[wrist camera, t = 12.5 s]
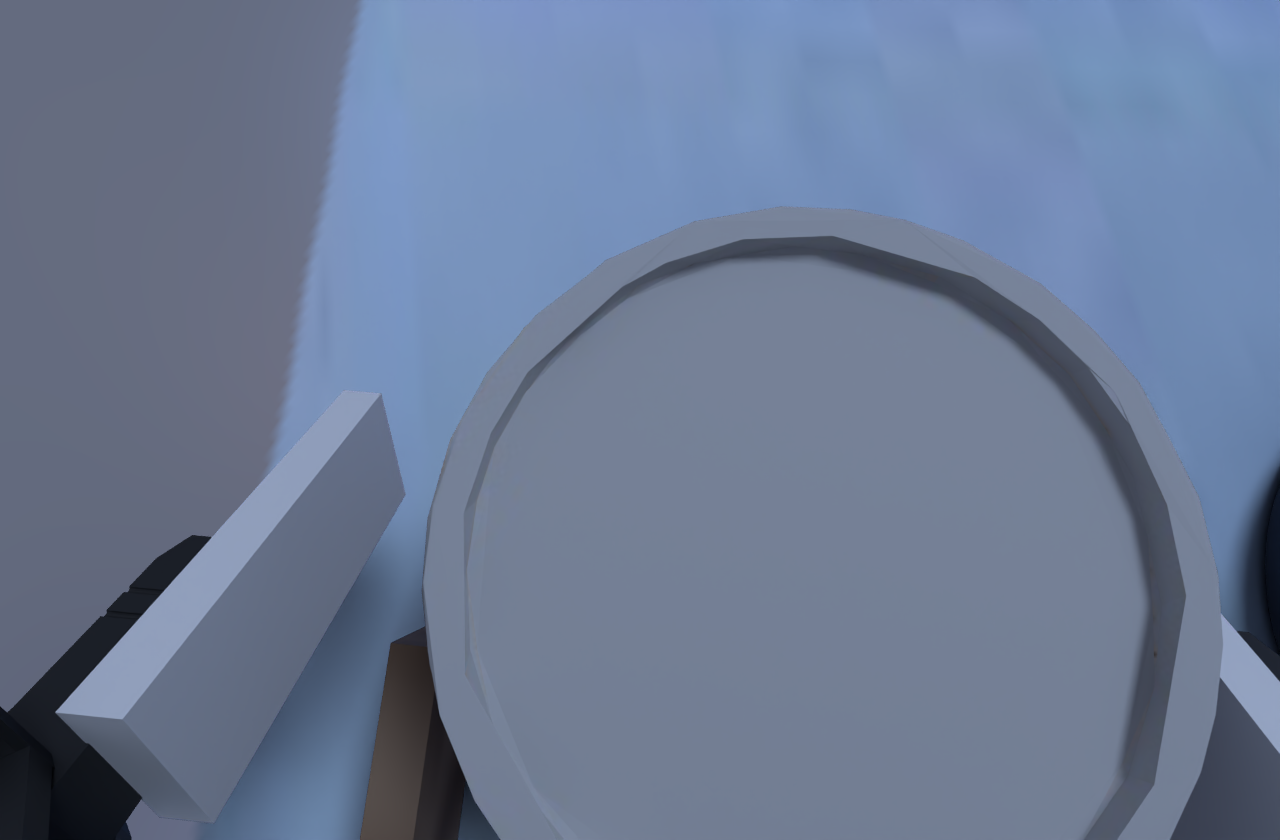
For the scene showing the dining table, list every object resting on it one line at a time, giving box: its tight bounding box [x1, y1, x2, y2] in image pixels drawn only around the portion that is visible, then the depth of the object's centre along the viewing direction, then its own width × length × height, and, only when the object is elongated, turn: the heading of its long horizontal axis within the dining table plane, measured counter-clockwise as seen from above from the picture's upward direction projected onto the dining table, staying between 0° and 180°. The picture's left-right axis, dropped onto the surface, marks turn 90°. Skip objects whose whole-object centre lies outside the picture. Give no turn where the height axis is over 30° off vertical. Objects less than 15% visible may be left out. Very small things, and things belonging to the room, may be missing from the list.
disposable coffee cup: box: [422, 207, 1223, 840], centre depth 12 cm, size 10×10×12 cm
